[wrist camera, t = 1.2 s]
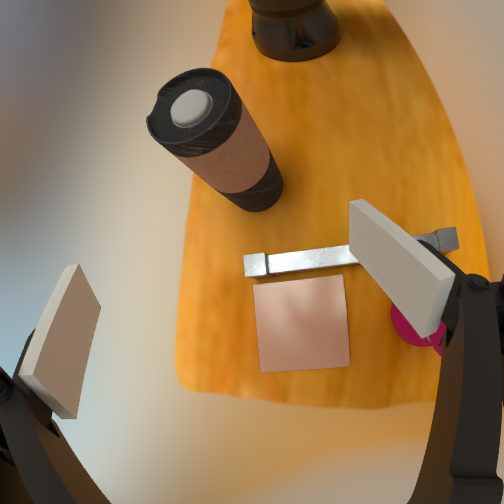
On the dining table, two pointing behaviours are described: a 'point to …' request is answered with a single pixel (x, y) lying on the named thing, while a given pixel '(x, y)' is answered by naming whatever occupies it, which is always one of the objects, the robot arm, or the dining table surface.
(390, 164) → the dining table surface
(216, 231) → the dining table surface
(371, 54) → the dining table surface
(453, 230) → the handrail
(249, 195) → the travel mug
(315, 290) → the end tile
